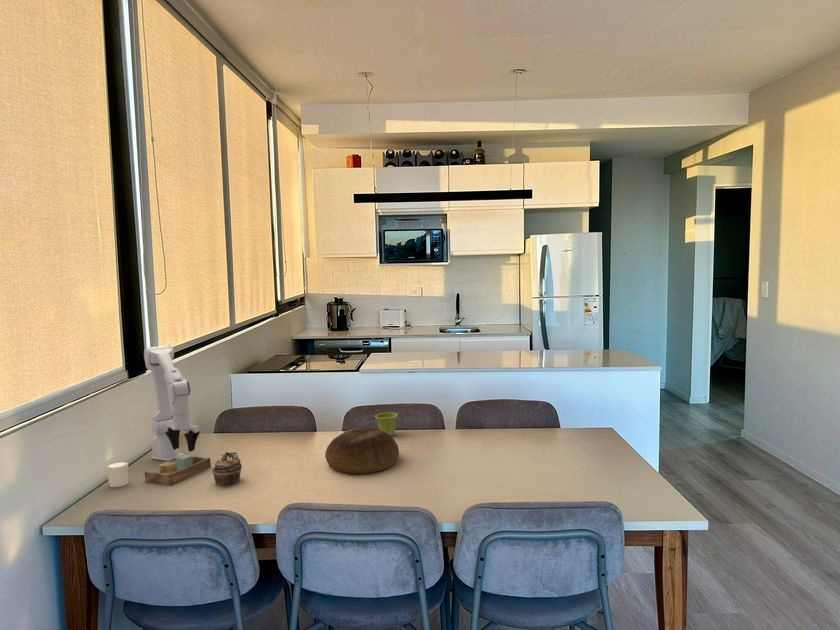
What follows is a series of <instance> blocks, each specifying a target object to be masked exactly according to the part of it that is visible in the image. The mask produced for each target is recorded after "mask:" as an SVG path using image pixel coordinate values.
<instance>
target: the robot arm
mask: <svg viewBox="0 0 840 630" xmlns="http://www.w3.org/2000/svg"><path fill="white" fill-rule="evenodd" d="M174 358H175V351H174V348H173V346H172V345H171V344H168V345H161V346H160V345H159V346H151V347H145V348H144V350H143V359H144V363H145V367H146V369H147V370H149V371H150V372H151V375H152V381H153V387H154V392H155V399H156V405H157V412H156V413H155V414H154V415H153V416H152V417H151V431H152V434H153V437H152V441H151V447H152V450H151V451H152V456H151V458H150V459H152V460H160V461H165V462H171V461H172V460H174V459H175V460H176V458H177V457H179V456H182V455H185V453H180V452H179V448H180V433H181V432H182V431H184V432H186V433H184V434H183V436H184V437H185V439H186V443H187V450H188V452H189V453H191V452H193V451H195V448H196V443H197V440H198V438H199V435H200V433H201V432H200V426H199V425H194V424H193V423H191V417H190V413H191V412H190V401H189V396H190V395H191V385H190V381H189V380H188V379H186V378H184V377H183V375H182V373H181V371H180V370H179V368H177V367H175V365H174V362H173V361H174Z"/></svg>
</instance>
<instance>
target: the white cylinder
mask: <svg viewBox="0 0 840 630" xmlns="http://www.w3.org/2000/svg"><path fill="white" fill-rule="evenodd" d="M105 468H106V473H107V474H106V475H107V479H108V483H109V485H108V486H109V487H110V488H120V487H124V486H126V485H127V484H129V463H128V461H118V462H113V463H109V464H108V465H106V466H105Z"/></svg>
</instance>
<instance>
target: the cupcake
mask: <svg viewBox="0 0 840 630" xmlns="http://www.w3.org/2000/svg"><path fill="white" fill-rule="evenodd" d="M242 469H243V467H242V463H241V459H240V458H239V454H238V453H237V452H227V451H225V452H223V454H221V455H220V457H219V458H218V459H217V460H216V462H215V464H214V467H213V468H212V469H211V470H212V475H213V478H214V482H215V485H216V486H217V487H230V486H234V485H236V484H238V483H239V482H240V480H241V472H242Z"/></svg>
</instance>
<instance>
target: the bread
mask: <svg viewBox="0 0 840 630" xmlns="http://www.w3.org/2000/svg"><path fill="white" fill-rule="evenodd" d="M399 454H400V451H399V445H398V443H397V442H396V440H395V439H394V437H393V436H390V435H389V434H387V433H386V432H384V431H382V430H380V429H379V428H376V427H373V426H359V427H355V428H350V429H347V430H345V431H343V432H342V433H340V434H339V435H337V436H336V437H334V438H333V440H331V441H330V443H329V444H328V445H327V447H326V450H325V454H324V457H325V460H326V462H327V464H328V465H329V466H330V467H331V468H332V469H334V470H337V471H340V472H343V473H346V474H347V473H348V474H357V475H358V474H359V475H360V474H362V475H363V474H370V473H377V472H381V471H384V470H386V469H388V468H391V467H392V466H393V465H394V464H395V463H396V462H397V460H398V457H399Z"/></svg>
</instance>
